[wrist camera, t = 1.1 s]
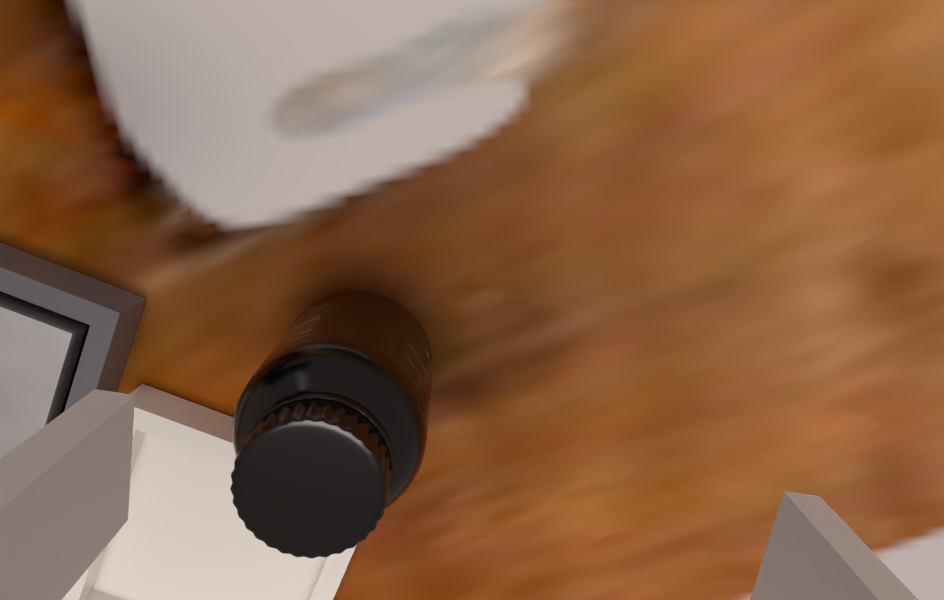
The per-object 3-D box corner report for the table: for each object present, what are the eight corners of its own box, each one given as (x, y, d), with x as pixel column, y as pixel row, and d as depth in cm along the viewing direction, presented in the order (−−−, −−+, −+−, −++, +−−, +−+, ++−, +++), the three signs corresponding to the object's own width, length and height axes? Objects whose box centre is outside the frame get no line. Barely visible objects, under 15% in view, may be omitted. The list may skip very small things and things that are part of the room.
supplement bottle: (301, 435, 34) (215, 600, 22) (274, 298, 32) (165, 397, 20) (444, 419, 34) (433, 575, 22) (424, 279, 32) (401, 369, 20)
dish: (74, 590, 36) (49, 620, 33) (142, 383, 33) (120, 401, 31) (299, 667, 37) (289, 700, 35) (382, 473, 34) (377, 496, 32)
